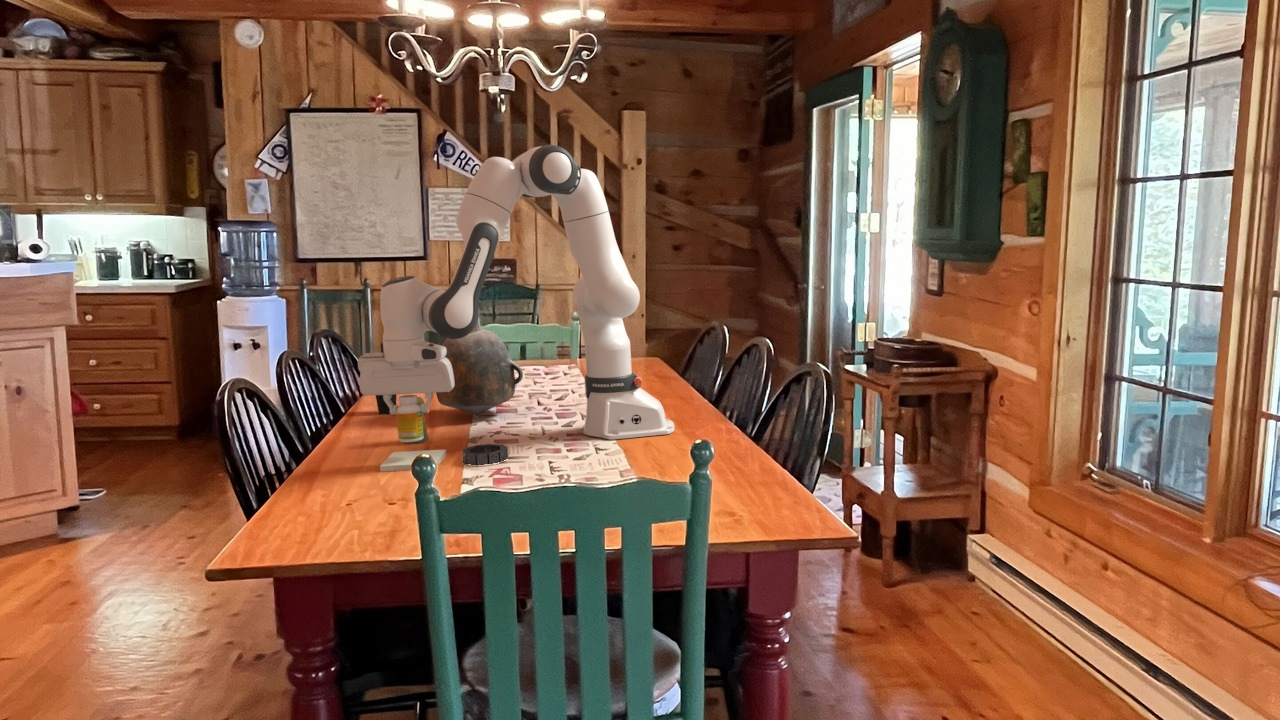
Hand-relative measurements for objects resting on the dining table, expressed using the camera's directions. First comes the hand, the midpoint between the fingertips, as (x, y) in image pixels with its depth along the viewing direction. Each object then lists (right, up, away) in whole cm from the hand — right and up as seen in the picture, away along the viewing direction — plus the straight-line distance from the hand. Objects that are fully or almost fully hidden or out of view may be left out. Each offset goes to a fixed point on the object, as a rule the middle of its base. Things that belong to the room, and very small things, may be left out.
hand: (409, 413), depth 202 cm
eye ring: (+17, -10, +1) cm, 20 cm away
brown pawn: (-4, -8, +22) cm, 24 cm away
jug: (+6, -4, +48) cm, 49 cm away
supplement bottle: (0, -6, 0) cm, 6 cm away
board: (+1, -11, +2) cm, 11 cm away
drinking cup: (-21, -4, +59) cm, 62 cm away
